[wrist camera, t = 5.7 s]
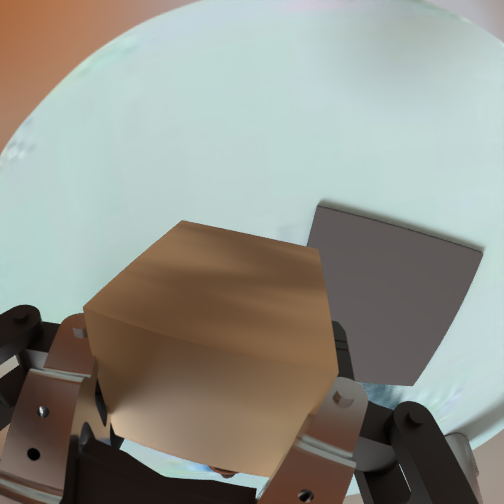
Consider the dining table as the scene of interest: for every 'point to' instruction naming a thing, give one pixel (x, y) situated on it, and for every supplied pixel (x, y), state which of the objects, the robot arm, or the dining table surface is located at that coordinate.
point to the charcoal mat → (390, 291)
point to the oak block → (215, 346)
